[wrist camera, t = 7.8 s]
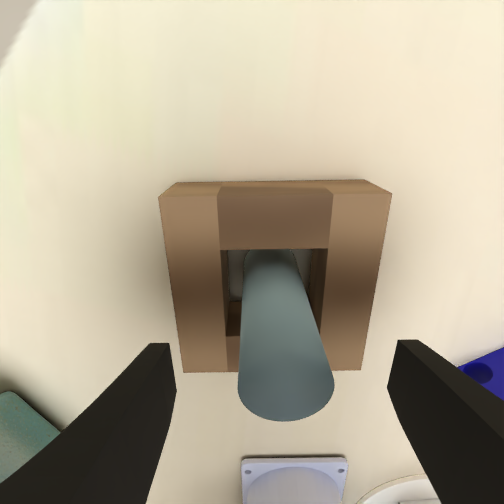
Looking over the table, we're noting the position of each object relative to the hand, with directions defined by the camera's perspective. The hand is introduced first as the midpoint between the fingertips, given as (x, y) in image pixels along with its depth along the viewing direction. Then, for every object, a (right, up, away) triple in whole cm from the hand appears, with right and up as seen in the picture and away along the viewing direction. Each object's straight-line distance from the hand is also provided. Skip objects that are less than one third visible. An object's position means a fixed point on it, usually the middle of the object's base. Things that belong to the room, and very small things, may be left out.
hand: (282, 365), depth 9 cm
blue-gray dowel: (0, +3, +6) cm, 7 cm away
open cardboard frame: (0, +3, +6) cm, 7 cm away
